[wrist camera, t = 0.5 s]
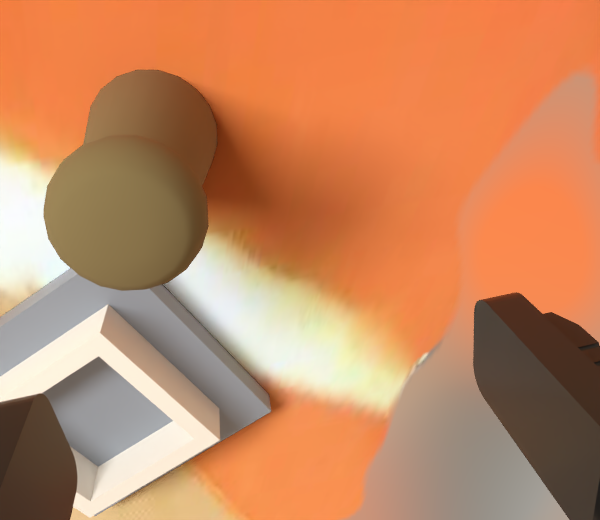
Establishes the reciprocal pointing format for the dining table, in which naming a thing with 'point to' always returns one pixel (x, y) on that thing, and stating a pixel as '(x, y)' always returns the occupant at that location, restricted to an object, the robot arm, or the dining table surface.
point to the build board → (124, 382)
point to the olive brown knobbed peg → (135, 184)
